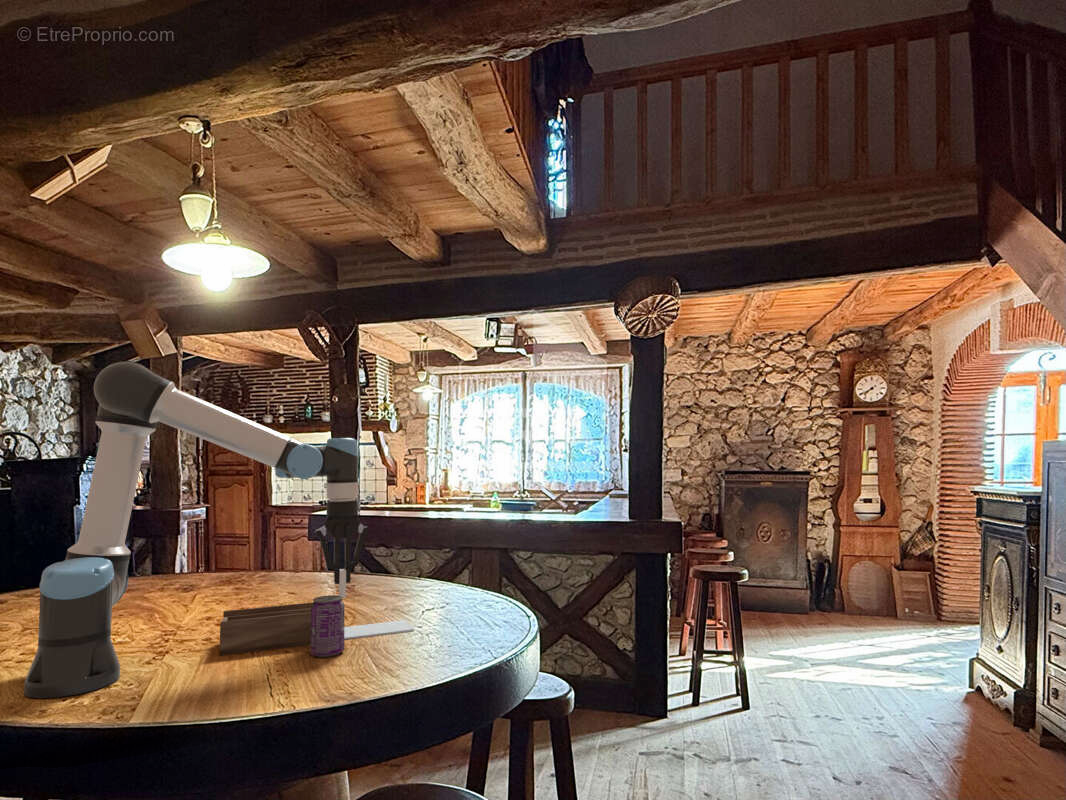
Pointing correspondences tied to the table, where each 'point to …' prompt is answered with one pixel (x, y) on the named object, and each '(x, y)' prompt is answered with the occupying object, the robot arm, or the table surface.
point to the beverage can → (327, 626)
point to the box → (265, 628)
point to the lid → (376, 629)
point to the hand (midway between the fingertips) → (342, 596)
